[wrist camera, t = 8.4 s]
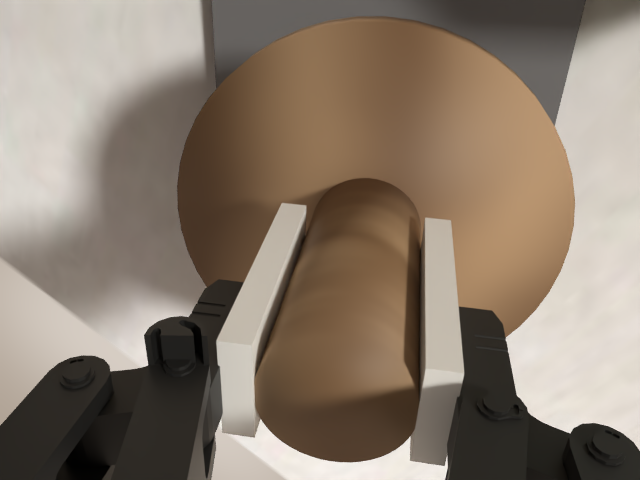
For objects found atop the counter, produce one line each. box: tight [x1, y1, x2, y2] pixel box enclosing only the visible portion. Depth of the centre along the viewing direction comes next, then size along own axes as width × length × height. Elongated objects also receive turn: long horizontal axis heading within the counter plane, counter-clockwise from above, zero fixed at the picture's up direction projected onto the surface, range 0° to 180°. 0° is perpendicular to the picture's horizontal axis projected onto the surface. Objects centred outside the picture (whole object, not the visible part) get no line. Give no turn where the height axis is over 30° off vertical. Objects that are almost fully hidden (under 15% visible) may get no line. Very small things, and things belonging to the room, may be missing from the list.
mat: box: [212, 0, 586, 126], centre depth 25 cm, size 14×14×1 cm
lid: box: [177, 16, 575, 462], centre depth 16 cm, size 13×13×9 cm
